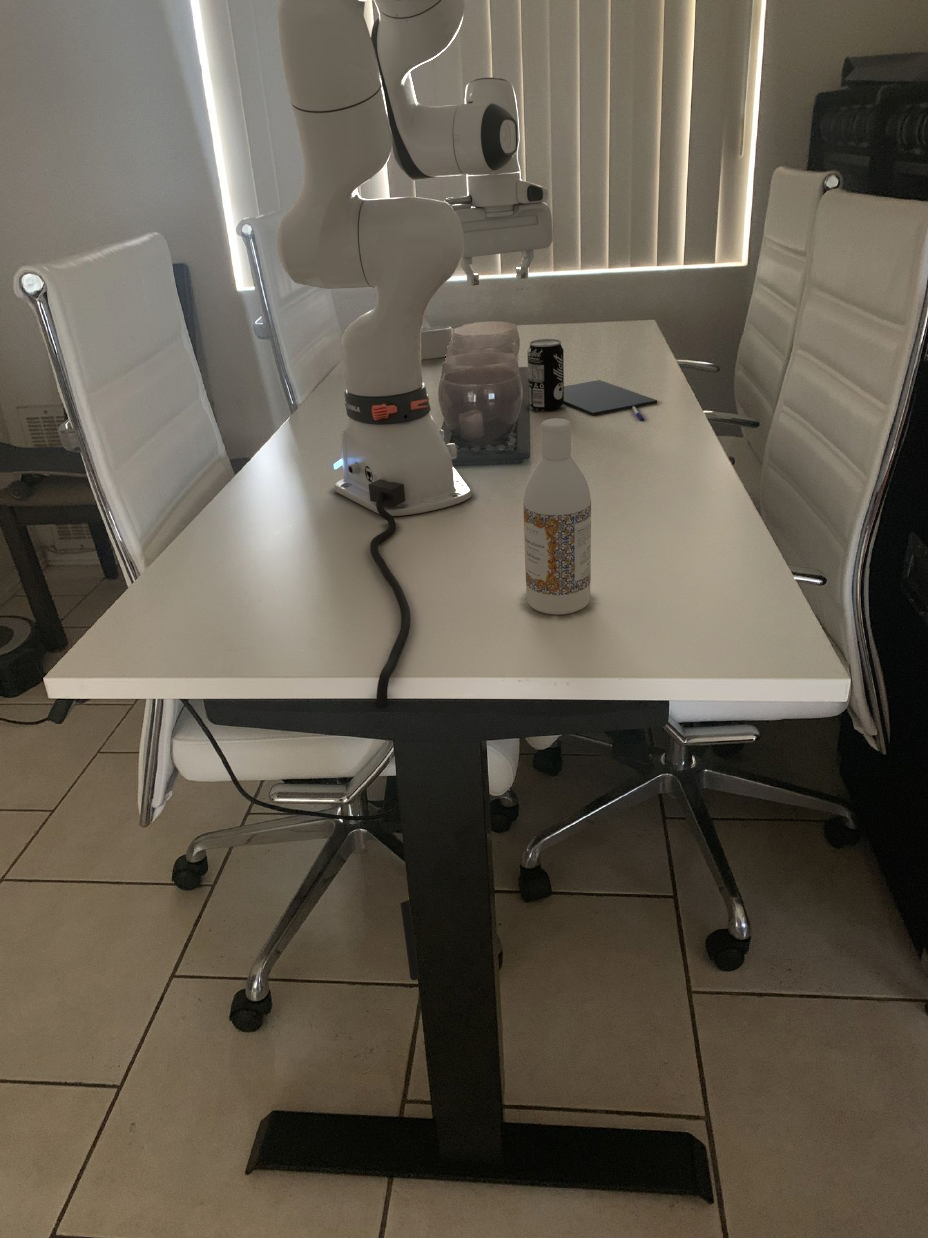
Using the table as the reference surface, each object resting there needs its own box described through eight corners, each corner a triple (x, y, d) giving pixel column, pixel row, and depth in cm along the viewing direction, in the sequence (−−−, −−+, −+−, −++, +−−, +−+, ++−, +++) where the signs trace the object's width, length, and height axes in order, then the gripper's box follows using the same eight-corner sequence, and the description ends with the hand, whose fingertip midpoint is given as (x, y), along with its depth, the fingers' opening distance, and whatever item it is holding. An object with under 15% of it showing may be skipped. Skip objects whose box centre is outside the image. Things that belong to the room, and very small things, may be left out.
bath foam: (513, 600, 98) (506, 422, 88) (562, 581, 101) (560, 408, 92) (554, 623, 93) (551, 436, 83) (603, 603, 96) (606, 421, 86)
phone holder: (456, 355, 212) (451, 275, 203) (415, 360, 210) (408, 280, 201) (439, 342, 227) (433, 267, 218) (400, 347, 225) (393, 271, 216)
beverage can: (563, 402, 169) (563, 337, 163) (563, 411, 163) (563, 344, 158) (529, 403, 170) (527, 338, 164) (528, 412, 164) (526, 346, 158)
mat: (657, 402, 165) (657, 400, 164) (592, 415, 160) (592, 412, 160) (599, 382, 181) (599, 379, 181) (539, 393, 176) (539, 390, 176)
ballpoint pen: (645, 422, 155) (645, 416, 155) (640, 422, 155) (640, 417, 155) (632, 406, 165) (632, 401, 164) (628, 407, 165) (628, 401, 164)
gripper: (444, 199, 140) (450, 291, 147) (556, 188, 147) (557, 276, 154) (429, 198, 145) (435, 287, 152) (538, 187, 152) (540, 273, 159)
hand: (498, 281), depth 153 cm, fingers open, 8 cm apart
